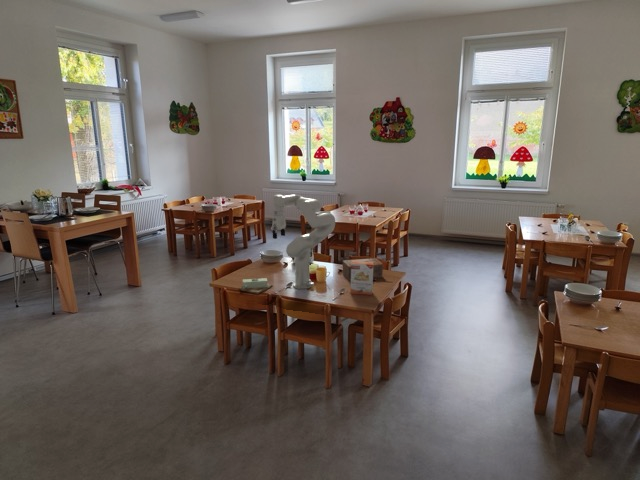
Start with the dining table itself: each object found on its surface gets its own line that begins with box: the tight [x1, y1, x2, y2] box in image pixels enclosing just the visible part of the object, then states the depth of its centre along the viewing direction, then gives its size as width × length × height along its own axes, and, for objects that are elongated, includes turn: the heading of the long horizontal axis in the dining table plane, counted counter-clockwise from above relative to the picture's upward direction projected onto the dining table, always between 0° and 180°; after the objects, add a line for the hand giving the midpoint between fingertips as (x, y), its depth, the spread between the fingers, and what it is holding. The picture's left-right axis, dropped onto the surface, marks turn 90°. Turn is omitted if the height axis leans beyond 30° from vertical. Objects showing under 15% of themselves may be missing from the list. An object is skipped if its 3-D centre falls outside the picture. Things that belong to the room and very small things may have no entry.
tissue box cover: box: [342, 257, 384, 280], centre depth 308 cm, size 26×14×10 cm, turn 103°
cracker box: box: [349, 261, 374, 296], centre depth 272 cm, size 14×6×21 cm, turn 80°
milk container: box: [291, 247, 315, 265], centre depth 334 cm, size 17×17×18 cm
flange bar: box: [242, 277, 268, 289], centre depth 282 cm, size 16×5×4 cm, turn 101°
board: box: [238, 280, 273, 295], centre depth 282 cm, size 16×16×6 cm
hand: (278, 237), depth 294 cm, fingers open, 9 cm apart
